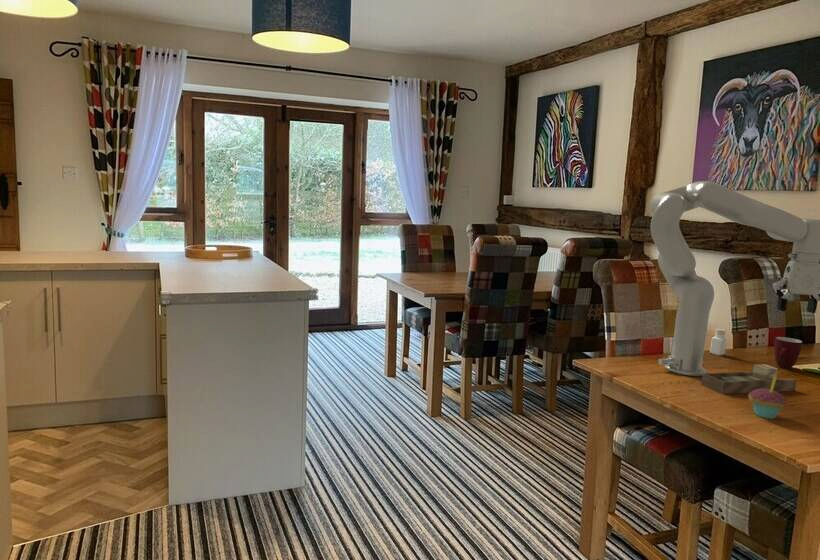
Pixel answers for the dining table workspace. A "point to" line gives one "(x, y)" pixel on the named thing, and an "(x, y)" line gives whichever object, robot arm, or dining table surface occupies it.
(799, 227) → the robot arm
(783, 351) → the mug
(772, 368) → the birch block
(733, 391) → the tray
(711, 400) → the dining table surface
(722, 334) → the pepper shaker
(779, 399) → the cupcake
